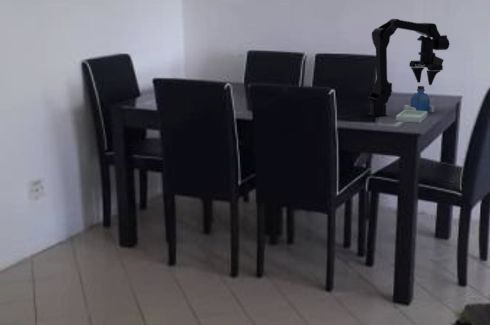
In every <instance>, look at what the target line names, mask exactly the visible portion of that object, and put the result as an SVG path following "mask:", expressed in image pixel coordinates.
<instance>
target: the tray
mask: <svg viewBox="0 0 490 325" xmlns="http://www.w3.org/2000/svg"><path fill="white" fill-rule="evenodd" d="M428 113H429V112H428V111H416V110H402V111H401V112H400V113H398V114H397V115H395V122H404V123H405V122H407V123H420V124H421V122H423V121H424V120H425V119H426V118H427V117H428Z"/></svg>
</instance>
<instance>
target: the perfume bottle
mask: <svg viewBox="0 0 490 325" xmlns="http://www.w3.org/2000/svg"><path fill="white" fill-rule="evenodd" d="M416 91H417V92H416V93H413V95H412V96H411V97H410V105H411V107H414V108H416V111H428V113H430V111H429V105H430V100H431V99H430V97H429V95H428V94H427V93H425V86H424V85H418V86H417V89H416ZM430 106H431V105H430Z"/></svg>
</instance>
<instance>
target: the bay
mask: <svg viewBox="0 0 490 325" xmlns="http://www.w3.org/2000/svg"><path fill="white" fill-rule="evenodd" d="M402 108H403V110H416V108H414V107H411V104H404V105H403V107H402ZM403 110H402V111H403ZM430 112H431V113H433V112H435V106H434V105H429V113H430Z"/></svg>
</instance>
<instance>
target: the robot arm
mask: <svg viewBox="0 0 490 325" xmlns="http://www.w3.org/2000/svg"><path fill="white" fill-rule="evenodd" d="M398 29H400V30H407V31H413V32H415V33H417V34H419V35H420V36H419V37H418V38H417V39H416V40H417V41H420V52H419V51H418V54H417V55H419V59H418V60H410V61H409V67H410V69H411V70H412V72H413V75H414V77H415V79H416V82H417V83H421V79H422V72H423V71H424V69H425V68H426V69H427V70H426V74H427V75H426V76H427V82H428V85H429V86H433V85H432V84H433V83H434V80H435V78H436V75H438V74H439V73H440V72H441V71H443V70H444V68H443V67H444V65H443V62H444V59H443V58H440V57H439V56H437V55H436V53H435V52H434V51H447V50H448V49H449V47H450V41H449V38H448V35H446V34H445V35H444V34H443V35H442V34H441V33H440V32H439V30H438V27H437V24H436V23H431V22H413V21H407V20H403V19H399V18H391V19H389V20H388V21H387V22H385V23H384V24H382V25H379V27H376V28H374V29H373V31H372V32H371V39H372V43H373V45H374V48H375V67H376V68H375V69H376V74H375V77H376V78H375V79H376V80H375V82H374V84H373V91H371V93H370V94H369V95H368V97H367V98H368V99H367V100H368V101H369V102H370V105H369V107H370V108H369V113H368V115H369V116H372V117H375V118H376V117H386V116H387V115H388V114H386V113H387V105H386V104H387V103H388V101H389V100H390V99H389V98H390V97H391V96H392V93H393V83H392V82H389V80H388V60H387V59H388V57H387V56H388V55H387V52H388V51H387V50H388V49H387V48H388V46H389V44H390V39H391V37H392V36H393V35H394V34H395V32H396V31H397V30H398Z"/></svg>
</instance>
